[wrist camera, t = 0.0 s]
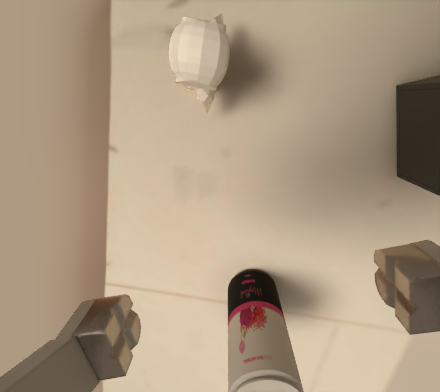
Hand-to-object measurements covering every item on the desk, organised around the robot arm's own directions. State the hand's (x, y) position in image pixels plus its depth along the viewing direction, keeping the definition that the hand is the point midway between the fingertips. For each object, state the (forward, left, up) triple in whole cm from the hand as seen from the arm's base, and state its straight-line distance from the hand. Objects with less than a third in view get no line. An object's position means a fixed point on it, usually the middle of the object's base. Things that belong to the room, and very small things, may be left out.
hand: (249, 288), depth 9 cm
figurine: (-9, -1, -23) cm, 25 cm away
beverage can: (+19, -1, -23) cm, 30 cm away
